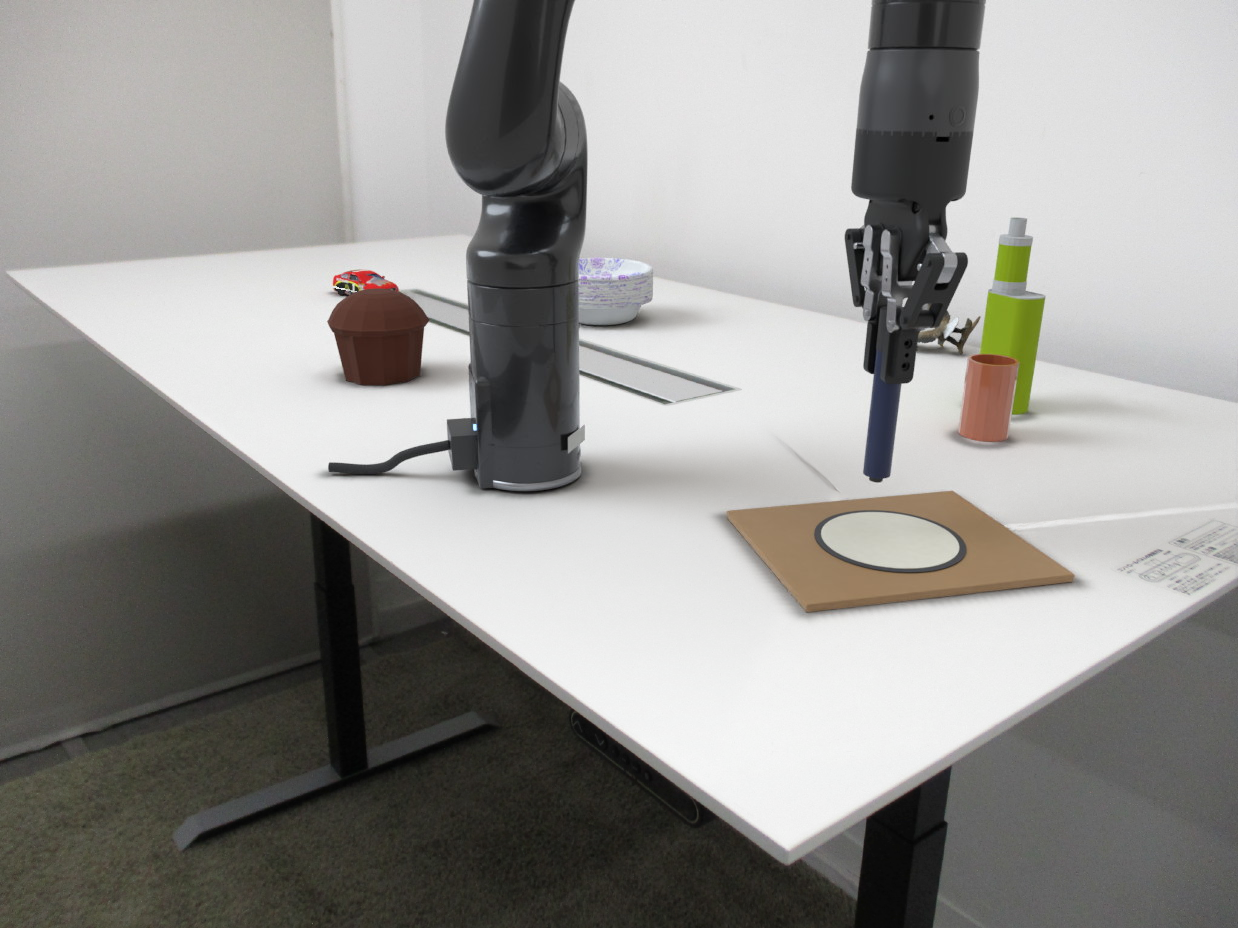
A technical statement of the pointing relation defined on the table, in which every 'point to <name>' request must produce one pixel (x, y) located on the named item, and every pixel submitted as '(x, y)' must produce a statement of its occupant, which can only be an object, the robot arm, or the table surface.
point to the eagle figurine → (948, 332)
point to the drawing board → (891, 550)
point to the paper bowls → (612, 290)
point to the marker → (881, 416)
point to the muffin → (379, 336)
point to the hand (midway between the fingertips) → (887, 376)
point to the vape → (1014, 311)
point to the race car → (361, 281)
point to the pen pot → (988, 397)
